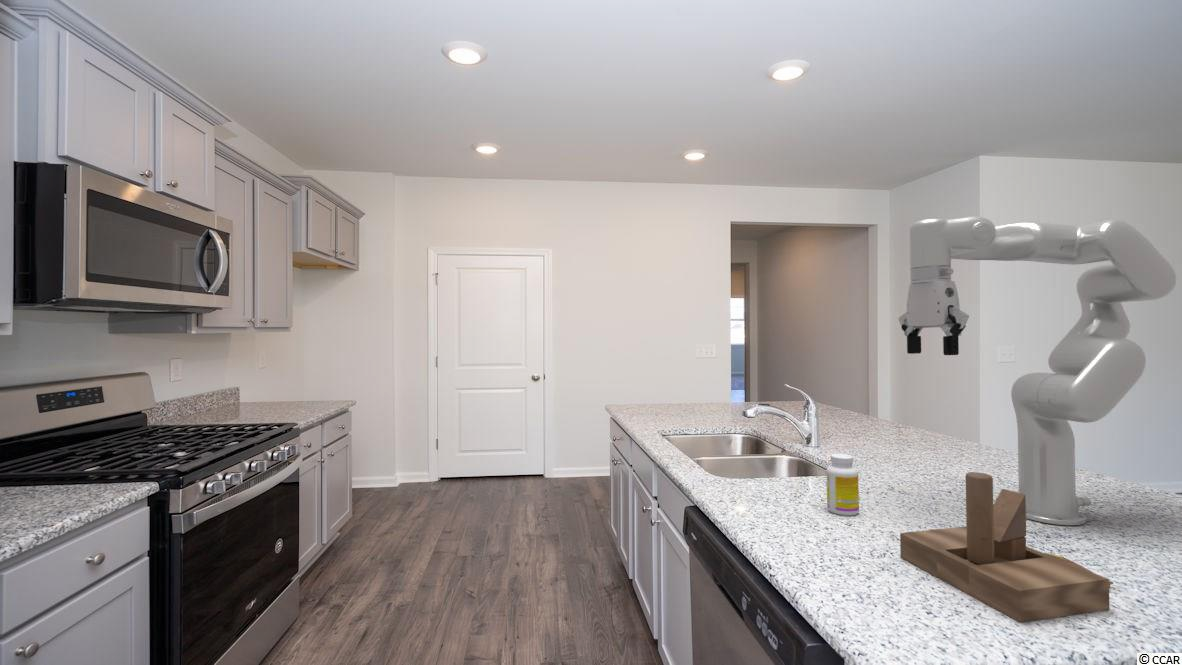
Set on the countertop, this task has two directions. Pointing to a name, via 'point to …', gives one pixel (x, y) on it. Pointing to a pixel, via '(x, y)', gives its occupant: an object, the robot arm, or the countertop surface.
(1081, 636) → the countertop surface
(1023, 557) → the wooden block
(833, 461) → the supplement bottle
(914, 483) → the countertop surface
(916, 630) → the countertop surface
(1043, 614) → the slotted crossbeam
